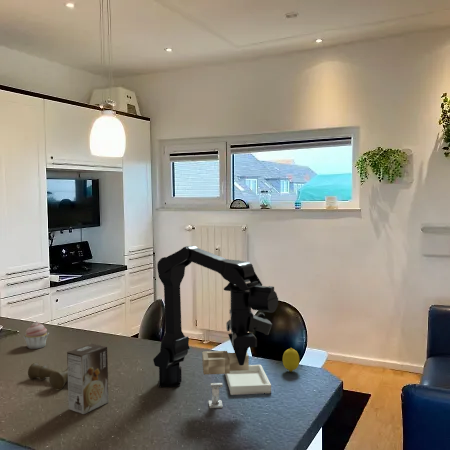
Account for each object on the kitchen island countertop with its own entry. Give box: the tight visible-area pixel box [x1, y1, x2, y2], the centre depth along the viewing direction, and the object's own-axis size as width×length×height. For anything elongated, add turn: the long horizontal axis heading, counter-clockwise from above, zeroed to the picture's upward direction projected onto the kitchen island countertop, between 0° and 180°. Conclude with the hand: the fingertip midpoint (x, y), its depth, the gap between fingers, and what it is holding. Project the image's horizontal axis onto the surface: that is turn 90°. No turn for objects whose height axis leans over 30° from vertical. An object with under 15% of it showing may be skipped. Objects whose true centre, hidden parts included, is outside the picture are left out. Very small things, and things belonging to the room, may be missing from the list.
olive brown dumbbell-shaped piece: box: [27, 362, 68, 390], centre depth 147 cm, size 6×10×20 cm
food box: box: [66, 343, 109, 415], centre depth 130 cm, size 9×6×16 cm
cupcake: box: [23, 321, 50, 350], centre depth 183 cm, size 9×9×10 cm
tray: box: [224, 364, 272, 396], centre depth 147 cm, size 17×12×2 cm
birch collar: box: [201, 350, 250, 375], centre depth 131 cm, size 12×7×4 cm, turn 96°
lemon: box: [282, 347, 300, 373], centre depth 156 cm, size 6×6×8 cm
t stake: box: [208, 382, 224, 409], centre depth 131 cm, size 4×4×6 cm
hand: (240, 363), depth 131 cm, fingers closed on birch collar, 3 cm apart
